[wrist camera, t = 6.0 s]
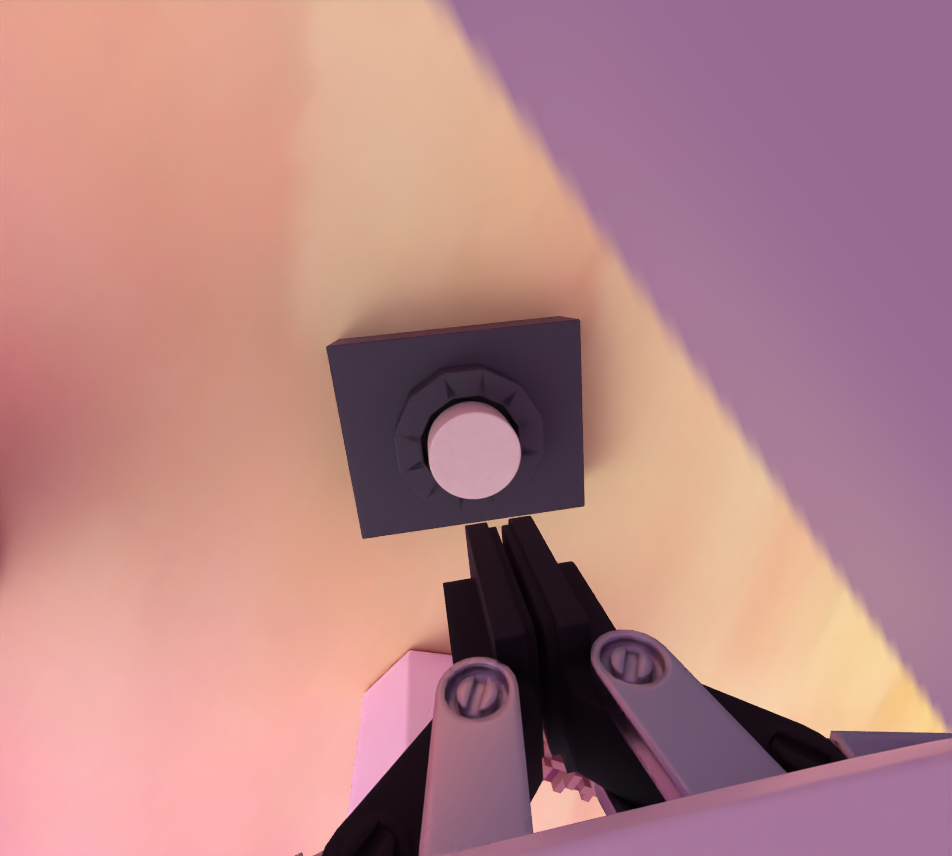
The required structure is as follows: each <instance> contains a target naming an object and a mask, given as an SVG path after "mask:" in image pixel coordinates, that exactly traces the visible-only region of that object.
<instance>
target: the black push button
mask: <svg viewBox="0 0 952 856" xmlns="http://www.w3.org/2000/svg"><path fill="white" fill-rule="evenodd" d="M326 349H327V354H328V359H329V365H330V370H331V375H332V381H333V386H334V391H335V396H336V402H337V407H338V412H339V417H340V423H341V428H342V433H343V439H344V444H345V449H346V454H347V460H348V465H349V470H350V476H351V481H352V486H353V491H354V497H355V502H356V507H357V512H358V518H359V523H360V528H361V534H362V538H363V539H365V538H372V537H378V536H385V535H392V534H399V533H406V532H412V531H419V530H426V529H433V528H440V527H446V526H453V525H460V524H467V523H474V522H480V521H487V520H494V519H501V518H508V517H514V516H521V515H528V514H535V513H542V512H548V511H555V510H562V509H569V508H575V507H582V506H584V464H583V423H582V382H581V341H580V320H579V319H574V318H567V317H561V316H557V317H548V318H538V319H529V320H519V321H510V322H500V323H491V324H481V325H472V326H462V327H453V328H443V329H434V330H424V331H415V332H405V333H396V334H386V335H376V336H367V337H357V338H348V339H339V340H337V341H335V342H333V343H332V344H330V345H328V346H327V347H326ZM466 401H476V402H482V403H485V404H488V405H490V406H492V407H494V408H495V409H497V410H498V411H499V412H500V413H501V414H502V415H503V416H504V417H505V418H506V420H507V421H508V422H509V424H510V425H511V427H512V428H513V429H514V431H515V433H516V434H517V436H518V439H519V442H520V446H521V460H520V464H519V468H518V470H517V473H516V474H515V476H514V478H513V479H512V480H511V482H510V483H509V484H508V485H507V486H506V487H505V488H503V489H502V490H501V491H499V492H498V493H496V494H494V495H491V496H489V497H486V498H481V499H466V498H461V497H457V496H455V495H453V494H451V493H449V492H447V491H446V490H445V489H443V488H442V487H441V486H440V485H439V484H438V483H437V481H436V480H435V478H434V476H433V474H432V472H431V469H430V465H429V456H428V435H429V431H430V429H431V426H432V424H433V422H434V421H435V420H436V418H437V417H438V416H439V415H440V414H441V413H442V412H443V411H444V410H446V409H447V408H449V407H450V406H453V405H455V404H458V403H461V402H466Z"/></svg>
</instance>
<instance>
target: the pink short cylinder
mask: <svg viewBox="0 0 952 856" xmlns="http://www.w3.org/2000/svg"><path fill="white" fill-rule="evenodd" d="M428 456H429V465H430V469H431V472H432V474H433V476H434V478H435V480H436V481H437V483H438V484H439V485H440V486H441V487H442V488H443V489H445V490H446V491H447V492H449V493H451V494H453V495H455V496H457V497H461V498H466V499H481V498H486V497H489V496H491V495H494V494H496V493H498V492H499V491H501V490H502V489H503V488H505V487H506V486H507V485H508V484H509V483H510V482H511V480H512V479H513V478H514V476H515V474H516V473H517V470H518V468H519V464H520V460H521V446H520V442H519V439H518V436H517V434H516V433H515V431H514V429H513V428H512V427H511V425H510V424H509V422H508V421H507V420H506V418H505V417H504V416H503V415H502V414H501V413H500V412H499V411H498V410H497V409H495V408H494V407H492V406H490V405H488V404H485V403H482V402H476V401H466V402H461V403H458V404H455V405H453V406H450V407H449V408H447V409H446V410H444V411H443V412H442V413H441V414H440V415H439V416H438V417H437V418H436V420H435V421H434V422H433V424H432V426H431V429H430V431H429V435H428Z"/></svg>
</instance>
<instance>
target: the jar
mask: <svg viewBox="0 0 952 856" xmlns="http://www.w3.org/2000/svg"><path fill="white" fill-rule="evenodd" d="M452 665H453V660H452V655H447V654H439V653H430V652H422V651H413V650H410V651H408V652H407V653H406V654H405V655H404V656H403V657H402V658H401V659H400V660H399V661H398V662H397V663H395V664H394V665H393V666H392V667H391V668H390V669H389V670H388V671H387V672H386V673H385V674H384V675H383V676H382V677H381V678H380V679H379V680H378V681H377V682H376V683H375V684H373V685H372V686H371V687H370V688H369V689H368V690H367V691H366V692H365V693H364V695H363V701H362V708H361V716H360V724H359V731H358V739H357V746H356V754H355V762H354V769H353V777H352V784H351V792H350V800H349V807H348V815H347V817H348V816H349V815H350V814H351V813H352V812H353V810H354V809H355V808H356V807H357V806H358V805H359V803H360V802H361V801H362V800H363V799H364V798H365V796H366V795H367V794H368V793H369V792H370V791H371V790H372V788H373V787H374V786H375V785H376V784H377V783H378V781H379V780H380V779H381V778H382V777H383V776H384V774H385V773H386V772H387V771H388V770H389V769H390V768H391V766H392V765H393V764H394V763H395V762H396V761H397V759H398V758H399V757H400V756H401V755H402V754H403V752H404V751H405V750H406V749H407V748H408V747H409V745H410V744H411V743H412V742H413V741H414V740H415V739H416V737H417V736H418V735H419V734H420V733H421V732H422V730H423V729H424V728H425V727H426V726H427V725H428V723H429V722H430V721H431V720H432V719H433V712H434V702H435V693H436V689H437V685H438V682H439V680H440V678H441V677H442V675H443V674H444V672H445V671H446V670H448V669H449V668H450V667H451V666H452Z"/></svg>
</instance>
